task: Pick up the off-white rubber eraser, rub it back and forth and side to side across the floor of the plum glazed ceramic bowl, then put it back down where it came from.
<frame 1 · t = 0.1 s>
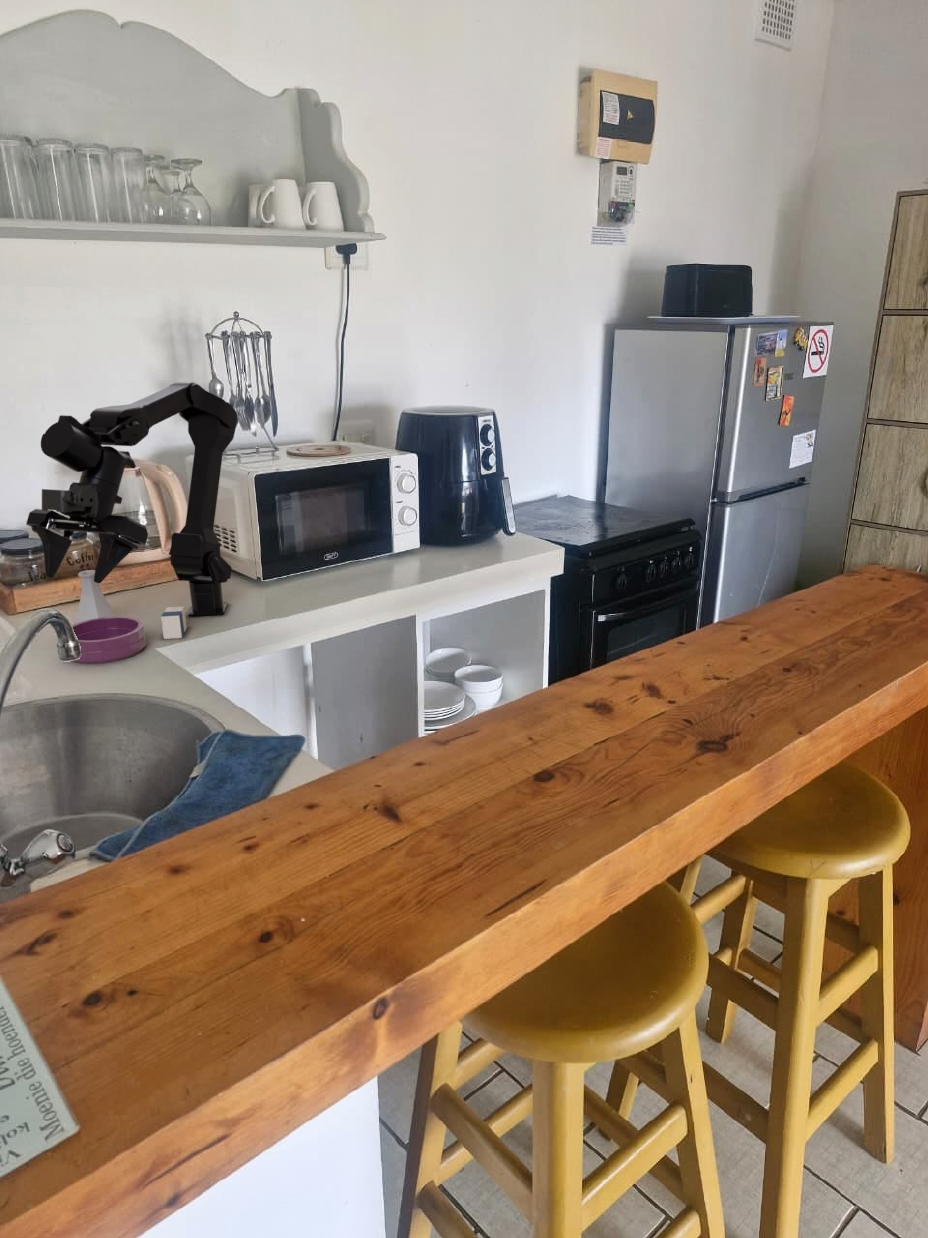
hand: (72, 579, 132), 15 cm above the countertop, tool tilted 30°, fingers open, 9 cm apart
flask: (96, 626, 157), on the countertop
bowl: (106, 651, 145), on the countertop
eraser: (175, 633, 152), on the countertop
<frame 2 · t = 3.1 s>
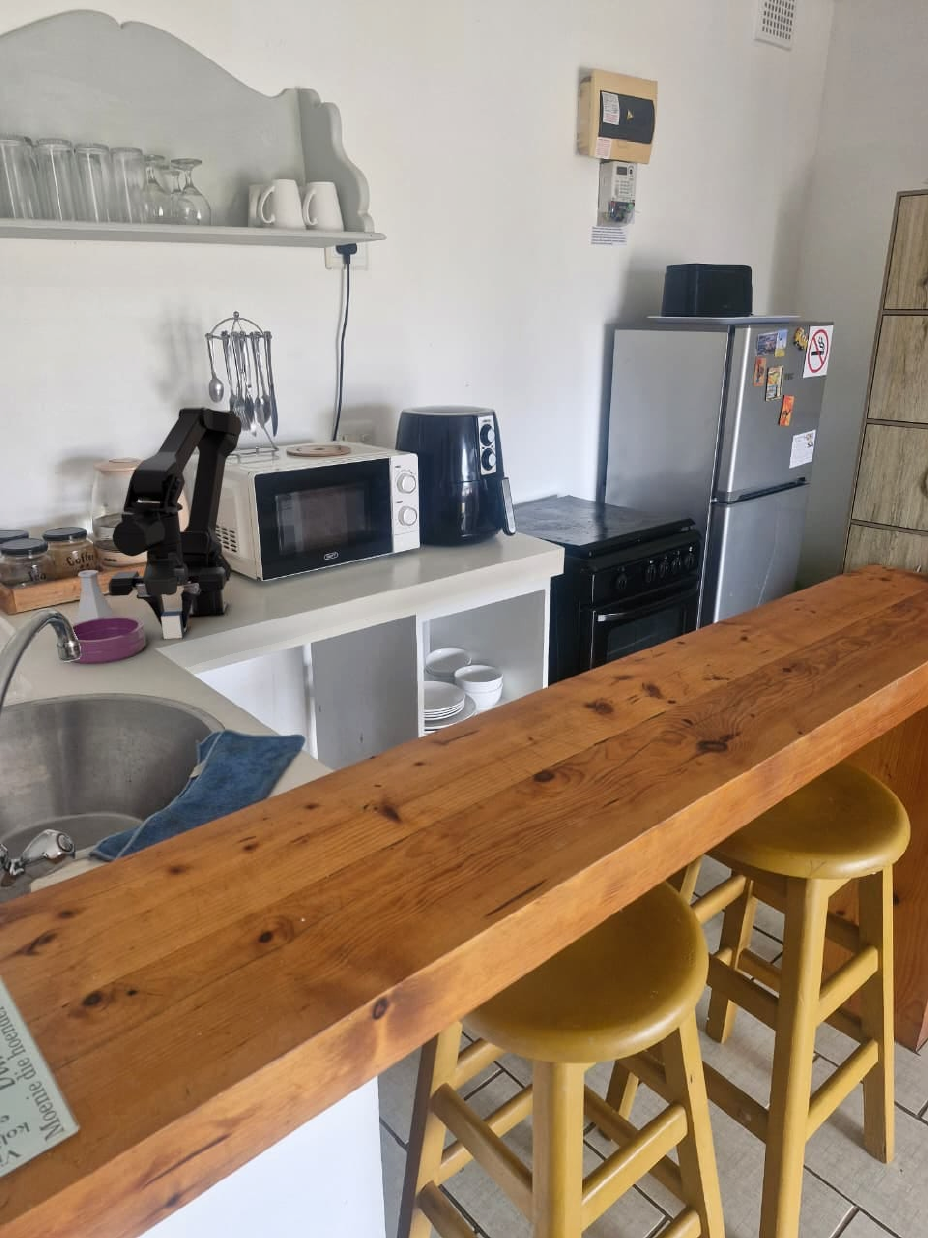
hand: (174, 628, 152), 1 cm above the countertop, tool pointing down, fingers closed on eraser, 3 cm apart
eraser: (175, 633, 152), on the countertop, touching gripper
everything else where it was.
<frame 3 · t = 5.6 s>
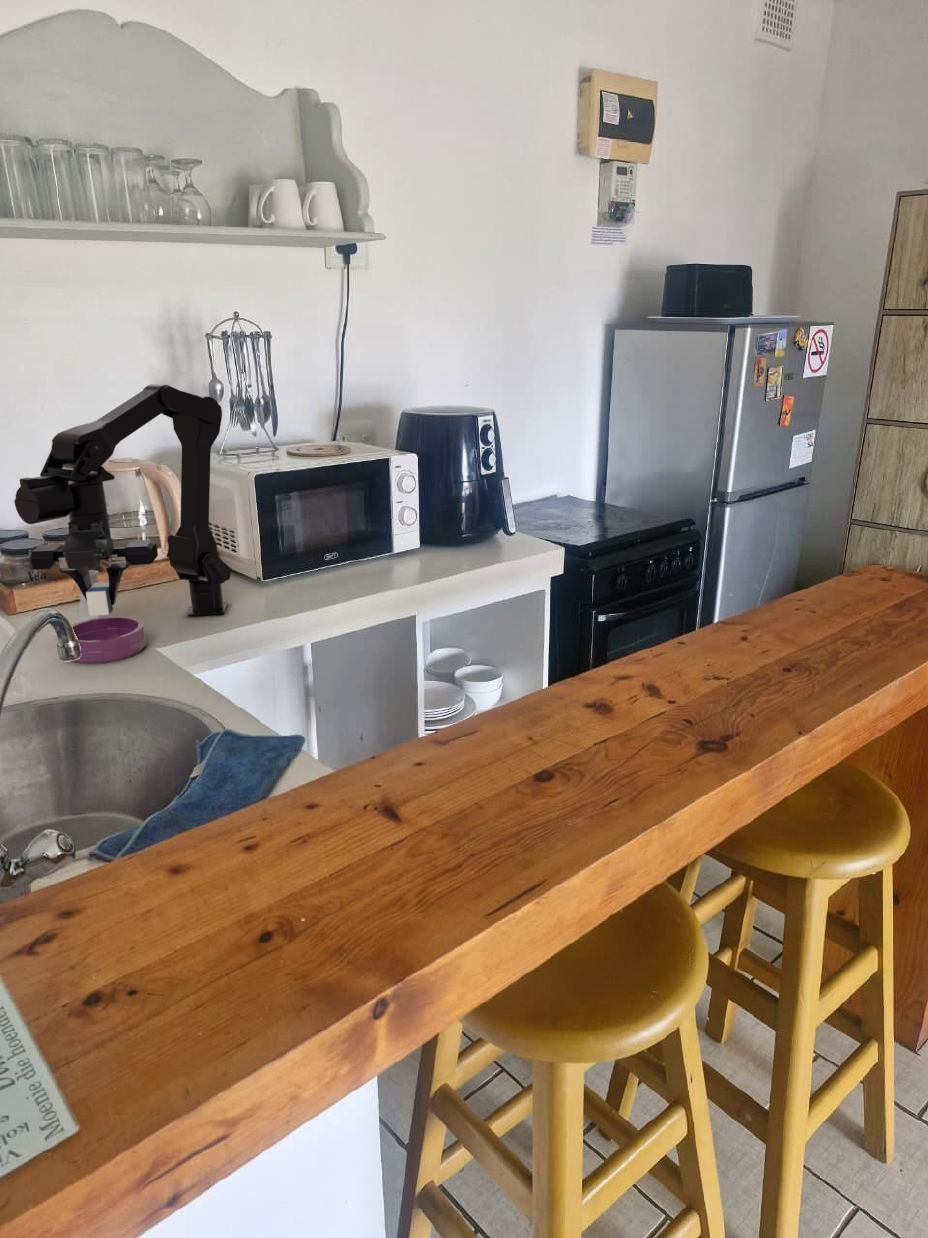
hand: (102, 604, 144), 8 cm above the countertop, tool pointing down, fingers closed on eraser, 3 cm apart
eraser: (103, 610, 144), point 7 cm above the countertop, touching gripper
everything else where it was.
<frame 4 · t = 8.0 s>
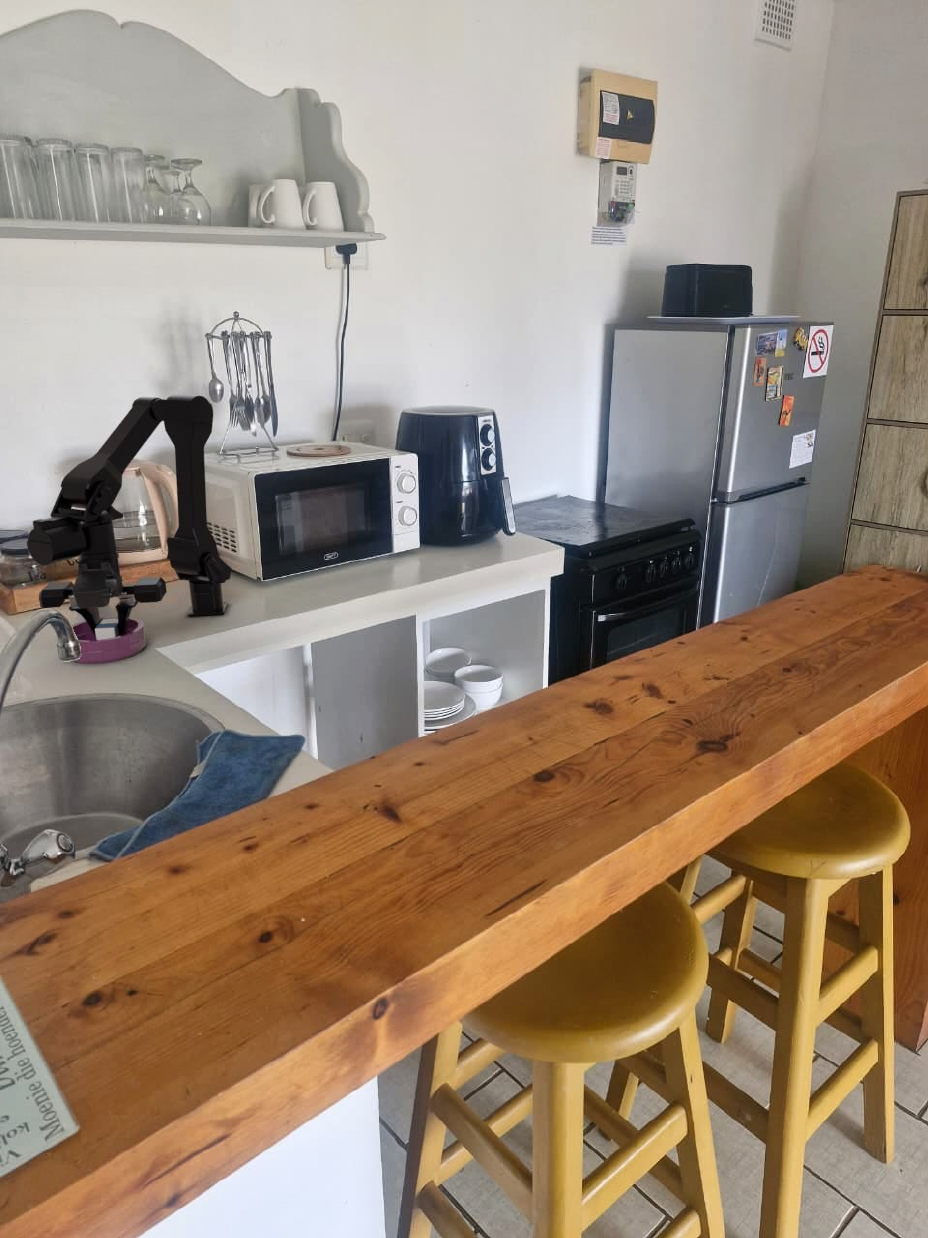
hand: (111, 641, 145), 2 cm above the countertop, tool pointing down, fingers closed on eraser, 3 cm apart
eraser: (112, 646, 145), point 1 cm above the countertop, touching gripper
everything else where it was.
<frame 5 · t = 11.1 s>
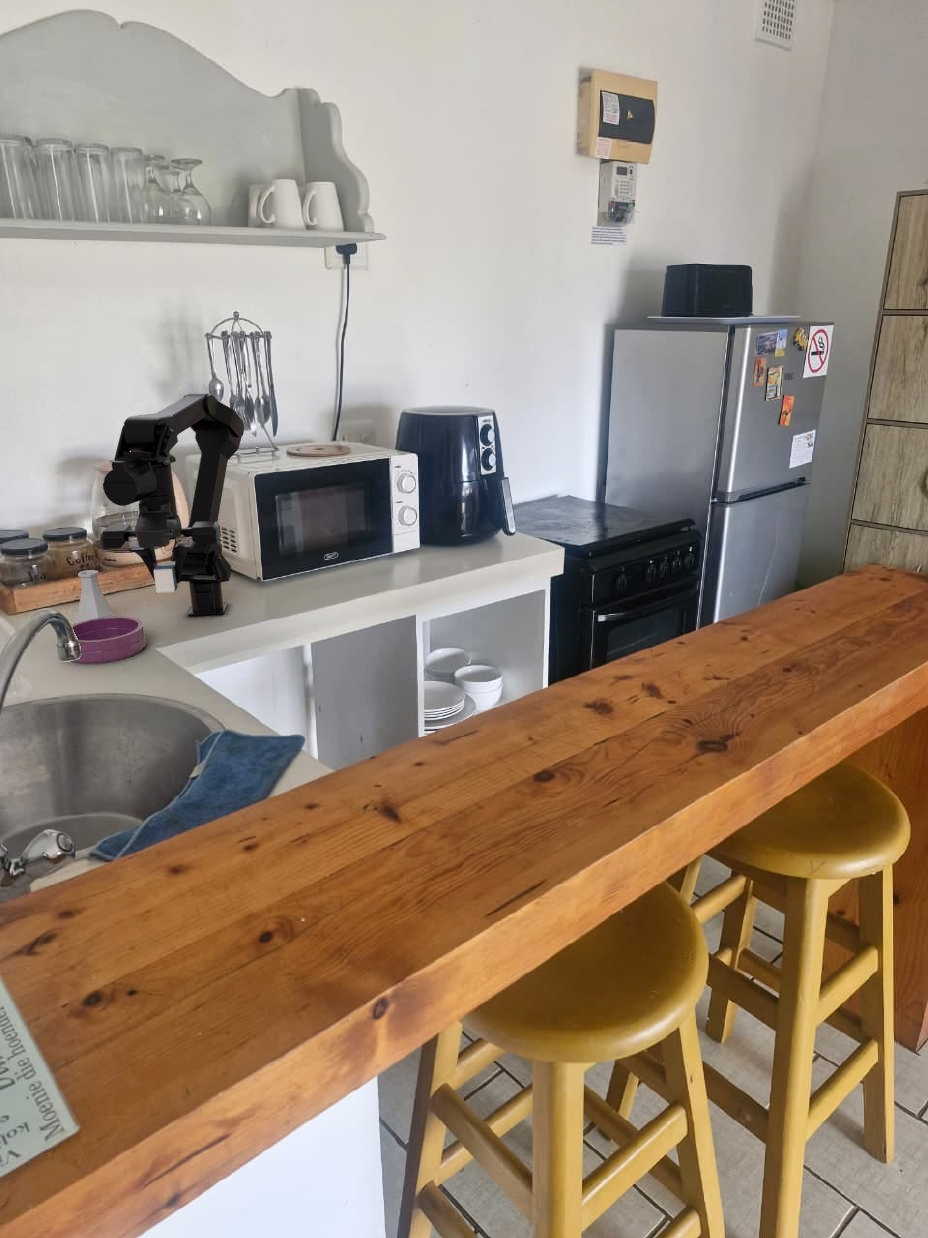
hand: (168, 583, 149), 9 cm above the countertop, tool pointing down, fingers closed on eraser, 3 cm apart
eraser: (168, 588, 149), point 8 cm above the countertop, touching gripper
everything else where it was.
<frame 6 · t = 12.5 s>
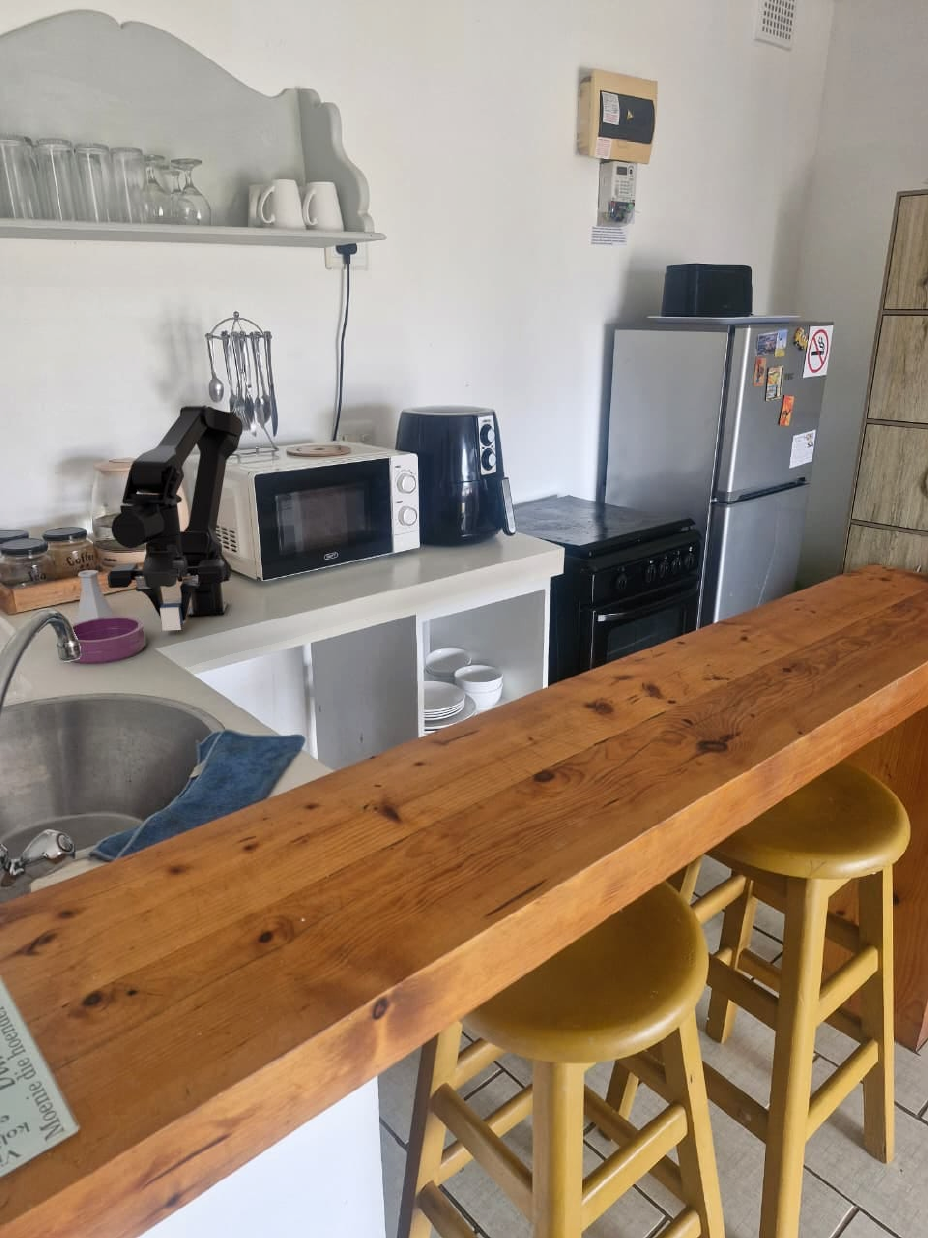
hand: (174, 620, 152), 2 cm above the countertop, tool pointing down, fingers closed on eraser, 3 cm apart
eraser: (174, 625, 152), point 2 cm above the countertop, touching gripper
everything else where it was.
when the fingers open (1 cm above the countertop, at t = 13.3 s): eraser stays where it is, on the countertop.
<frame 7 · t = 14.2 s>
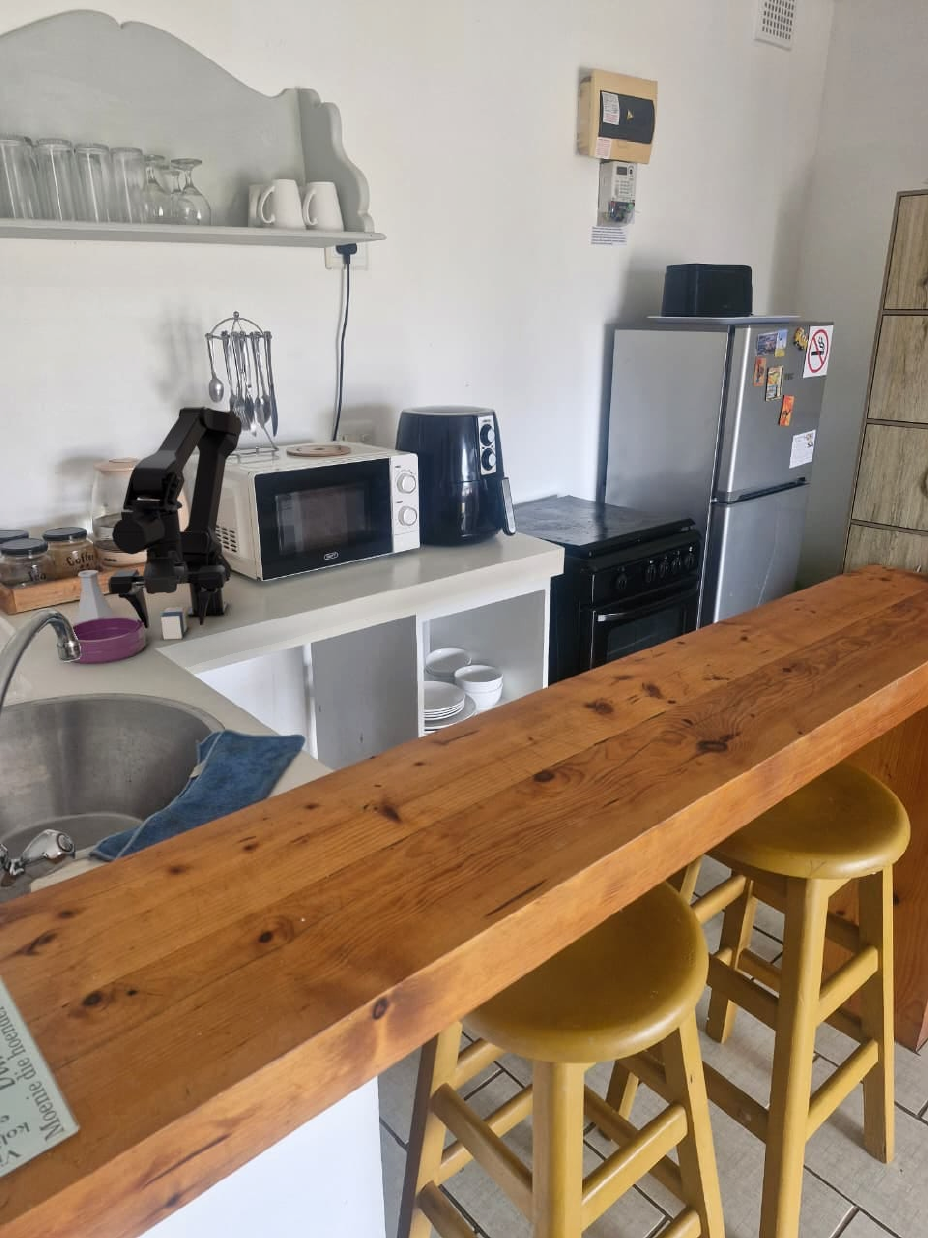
hand: (174, 626, 152), 1 cm above the countertop, tool pointing down, fingers open, 9 cm apart
eraser: (175, 633, 152), on the countertop
everything else where it was.
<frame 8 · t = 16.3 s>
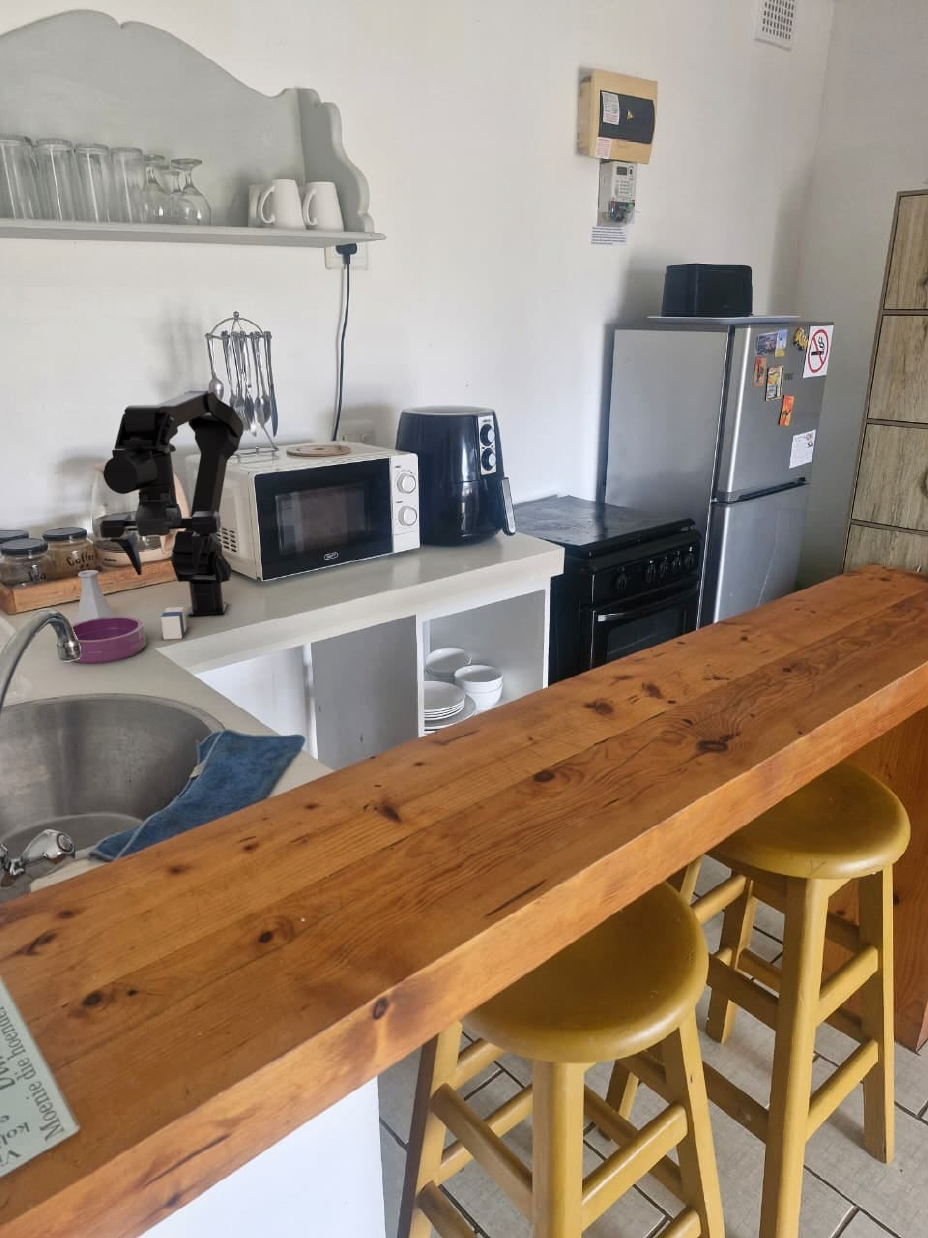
hand: (167, 573, 149), 11 cm above the countertop, tool pointing down, fingers open, 9 cm apart
nothing on the countertop moved.
at the end: eraser 0.2 cm from the target spot, on the countertop; eraser tilted 0°; the gripper is holding nothing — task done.
